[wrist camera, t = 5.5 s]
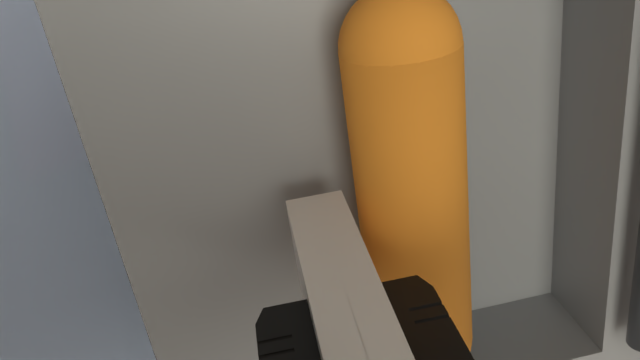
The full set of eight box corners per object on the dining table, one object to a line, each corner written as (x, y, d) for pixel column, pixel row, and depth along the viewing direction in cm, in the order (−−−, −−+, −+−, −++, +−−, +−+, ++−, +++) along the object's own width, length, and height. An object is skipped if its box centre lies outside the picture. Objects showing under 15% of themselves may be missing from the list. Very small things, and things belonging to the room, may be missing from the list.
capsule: (433, 424, 18) (492, 366, 19) (402, 0, 12) (488, -30, 14) (358, 375, 20) (418, 326, 21) (304, -5, 14) (389, -32, 16)
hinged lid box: (191, 383, 24) (189, 472, 21) (38, -107, 16) (-11, -106, 13) (578, 295, 26) (641, 362, 22) (611, -193, 18) (717, -215, 14)
